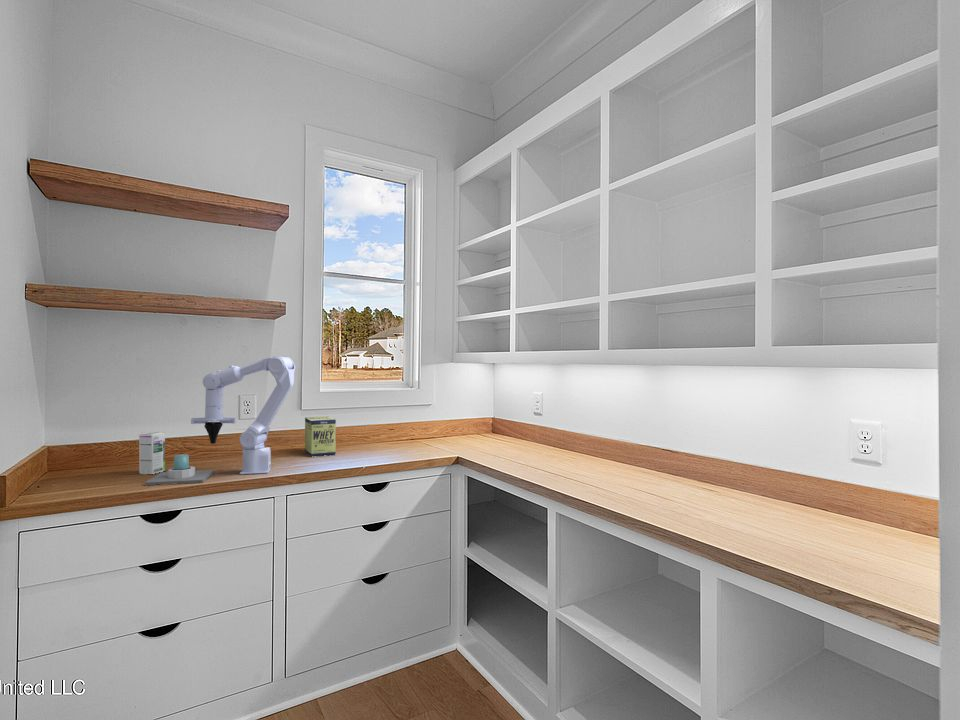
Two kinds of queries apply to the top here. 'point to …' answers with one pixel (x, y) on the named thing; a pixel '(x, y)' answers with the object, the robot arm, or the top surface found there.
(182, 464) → the teal rounded cylinder
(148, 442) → the syrup box
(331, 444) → the protein box
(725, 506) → the top surface
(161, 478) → the gray square plate
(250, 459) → the robot arm
